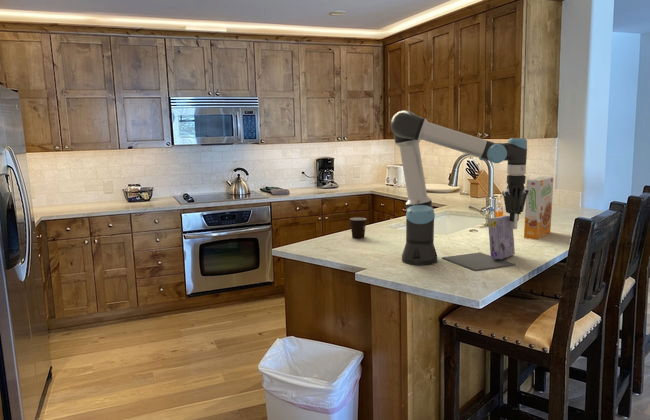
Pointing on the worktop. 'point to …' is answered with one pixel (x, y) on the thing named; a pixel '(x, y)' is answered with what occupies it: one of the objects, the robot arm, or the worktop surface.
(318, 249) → the worktop surface
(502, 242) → the cake pan box
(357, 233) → the coffee mug
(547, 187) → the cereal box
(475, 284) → the worktop surface
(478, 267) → the mat
